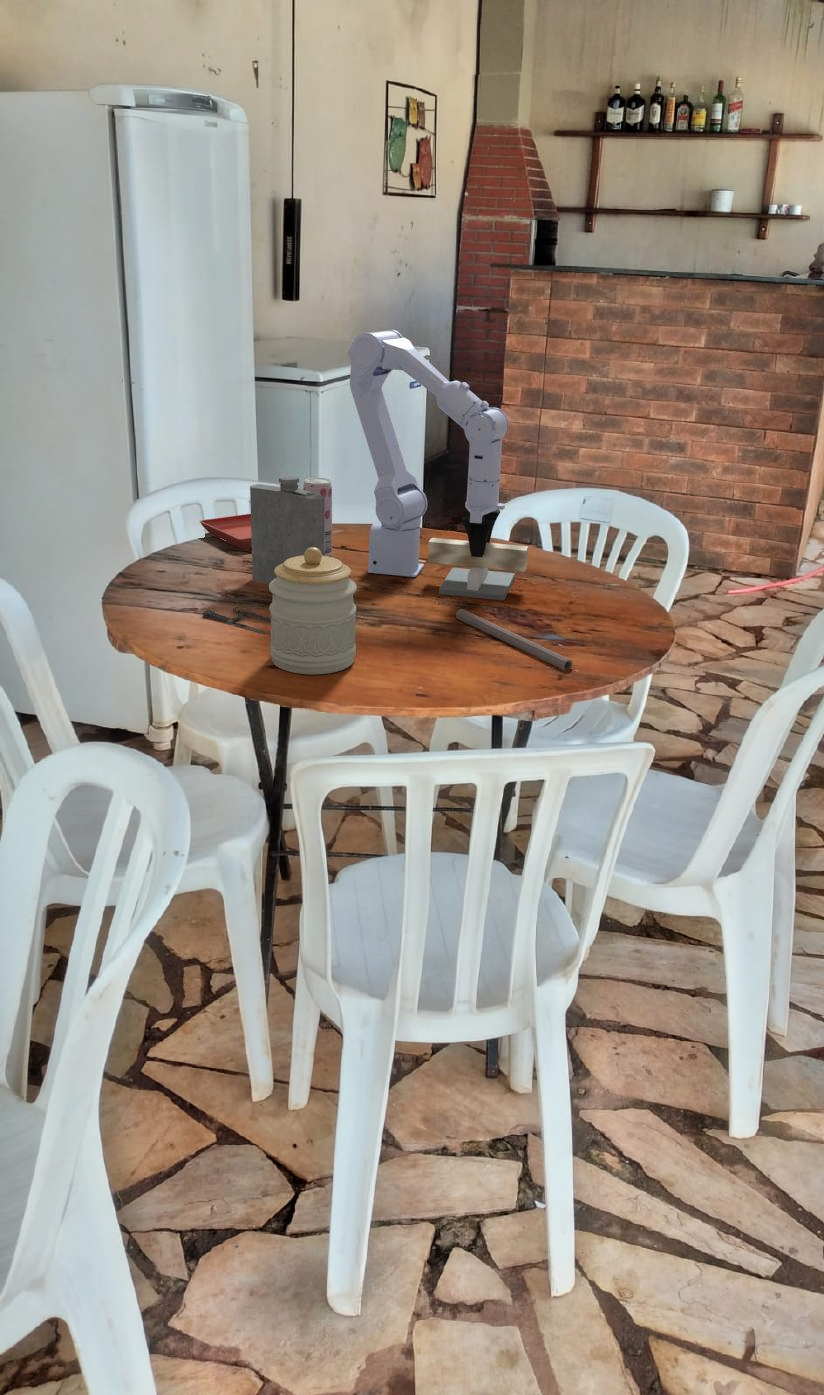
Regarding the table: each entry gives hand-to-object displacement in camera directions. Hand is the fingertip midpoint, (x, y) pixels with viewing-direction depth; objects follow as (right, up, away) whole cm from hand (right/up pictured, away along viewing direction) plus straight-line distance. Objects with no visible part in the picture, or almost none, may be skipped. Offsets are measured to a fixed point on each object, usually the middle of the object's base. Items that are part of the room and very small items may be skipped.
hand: (479, 552), depth 201 cm
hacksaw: (-35, -15, -20) cm, 43 cm away
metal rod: (+4, -18, -24) cm, 31 cm away
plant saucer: (-45, +7, +29) cm, 54 cm away
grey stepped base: (0, -6, +3) cm, 6 cm away
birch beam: (0, -2, +1) cm, 2 cm away
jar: (-27, -21, -35) cm, 49 cm away
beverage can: (-31, +2, +18) cm, 36 cm away
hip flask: (-35, -7, -1) cm, 35 cm away
